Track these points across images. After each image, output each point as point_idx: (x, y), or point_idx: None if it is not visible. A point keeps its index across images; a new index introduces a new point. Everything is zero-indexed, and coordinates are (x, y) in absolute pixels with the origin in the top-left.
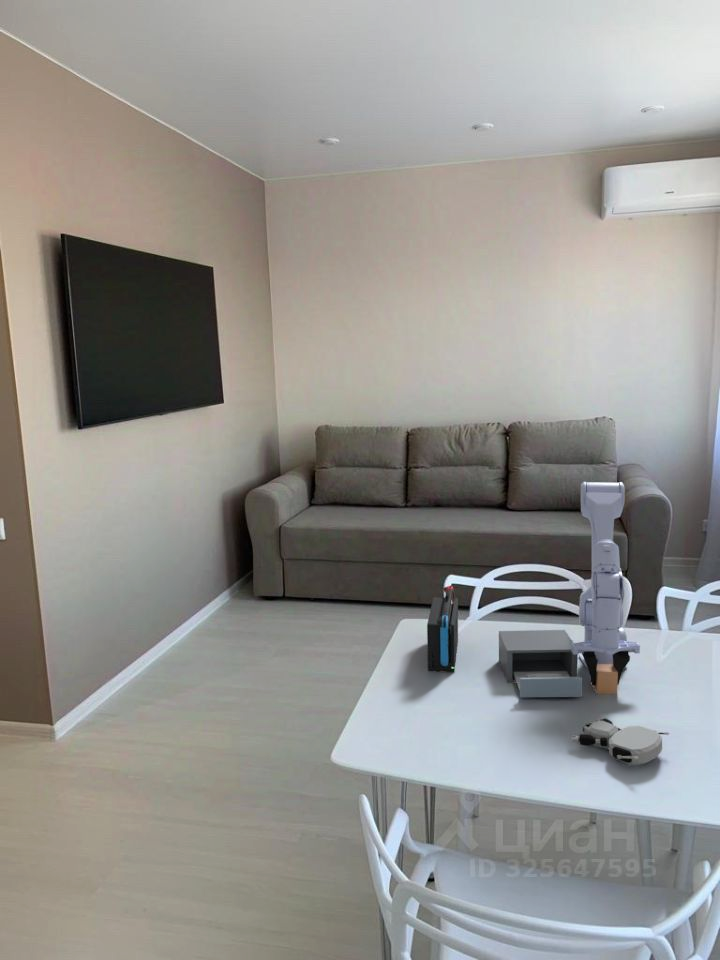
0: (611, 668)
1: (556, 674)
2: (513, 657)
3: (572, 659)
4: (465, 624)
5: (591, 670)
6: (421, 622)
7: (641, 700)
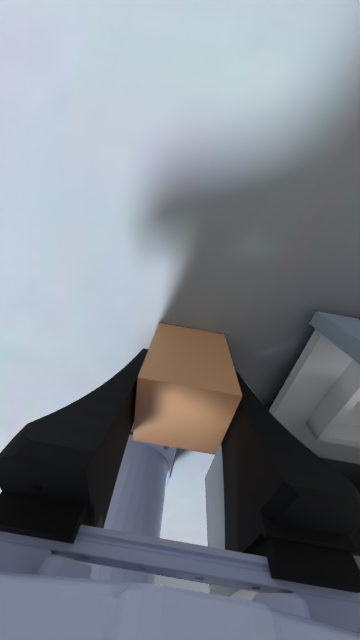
0: (152, 411)
1: (331, 435)
2: None
3: None
4: None
5: (269, 414)
6: None
7: (95, 256)
